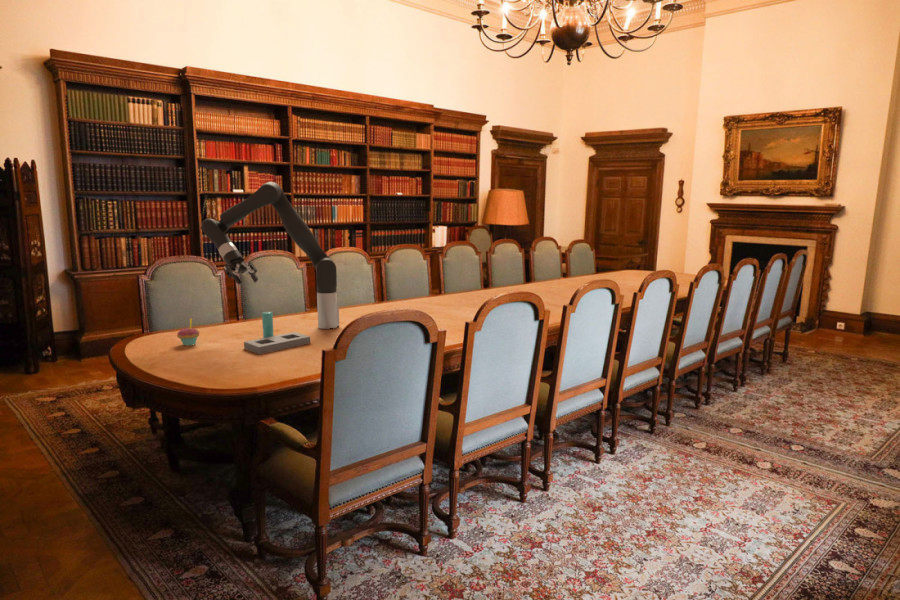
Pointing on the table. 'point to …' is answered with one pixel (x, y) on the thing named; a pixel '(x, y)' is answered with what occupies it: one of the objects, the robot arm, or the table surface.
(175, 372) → the table surface
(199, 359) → the table surface
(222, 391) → the table surface
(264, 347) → the rack
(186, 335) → the cupcake
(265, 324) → the teal round-top peg
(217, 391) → the table surface
